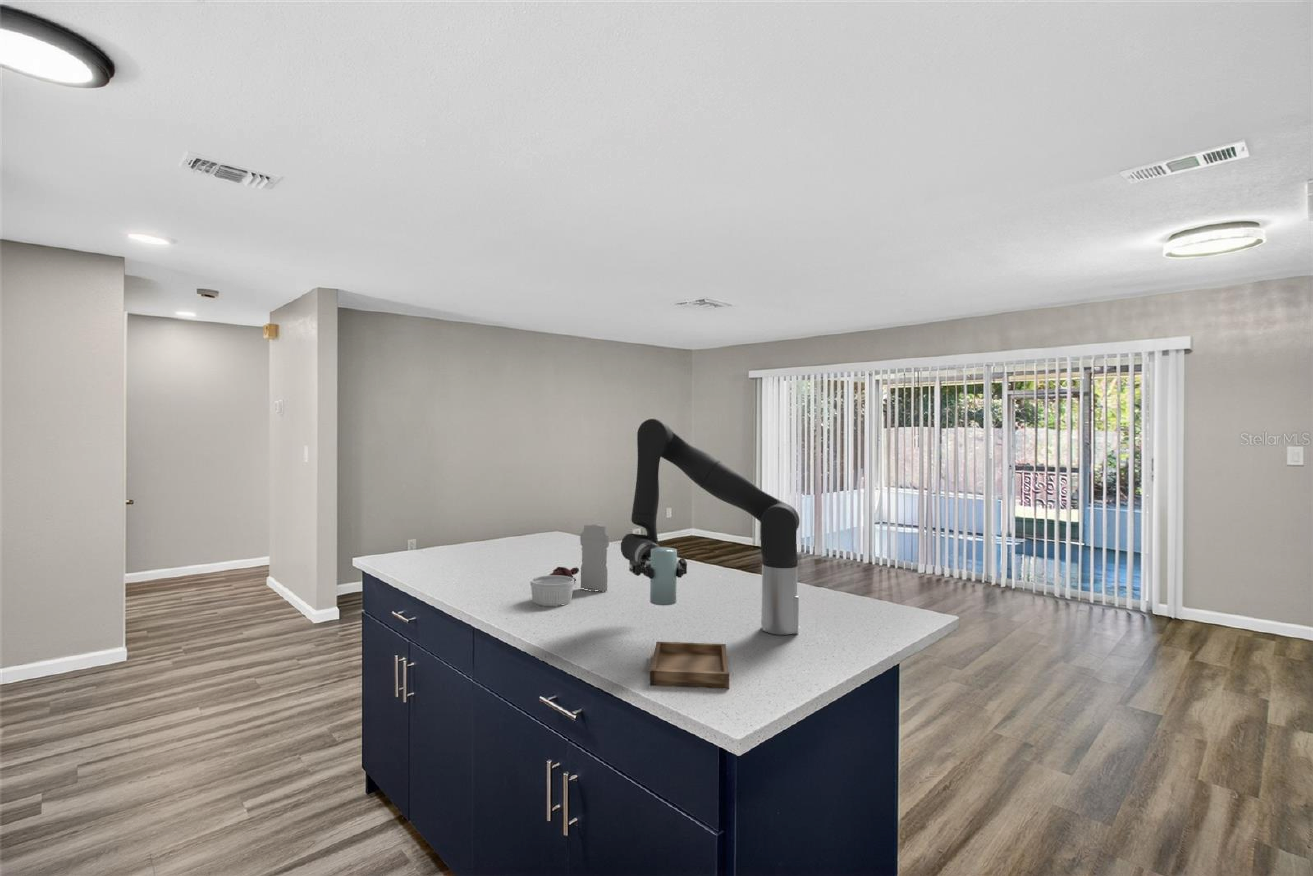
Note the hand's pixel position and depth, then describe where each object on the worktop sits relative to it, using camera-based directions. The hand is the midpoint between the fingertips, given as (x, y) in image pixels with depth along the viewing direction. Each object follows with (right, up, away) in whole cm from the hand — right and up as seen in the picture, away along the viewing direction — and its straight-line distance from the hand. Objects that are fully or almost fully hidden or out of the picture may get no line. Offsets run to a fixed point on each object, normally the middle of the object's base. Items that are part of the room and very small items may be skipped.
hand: (666, 573), depth 137 cm
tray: (+5, -20, -5) cm, 21 cm away
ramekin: (-34, -20, +49) cm, 63 cm away
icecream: (-34, -20, +68) cm, 79 cm away
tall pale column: (-23, -20, +64) cm, 71 cm away
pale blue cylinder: (-1, -7, +2) cm, 7 cm away
